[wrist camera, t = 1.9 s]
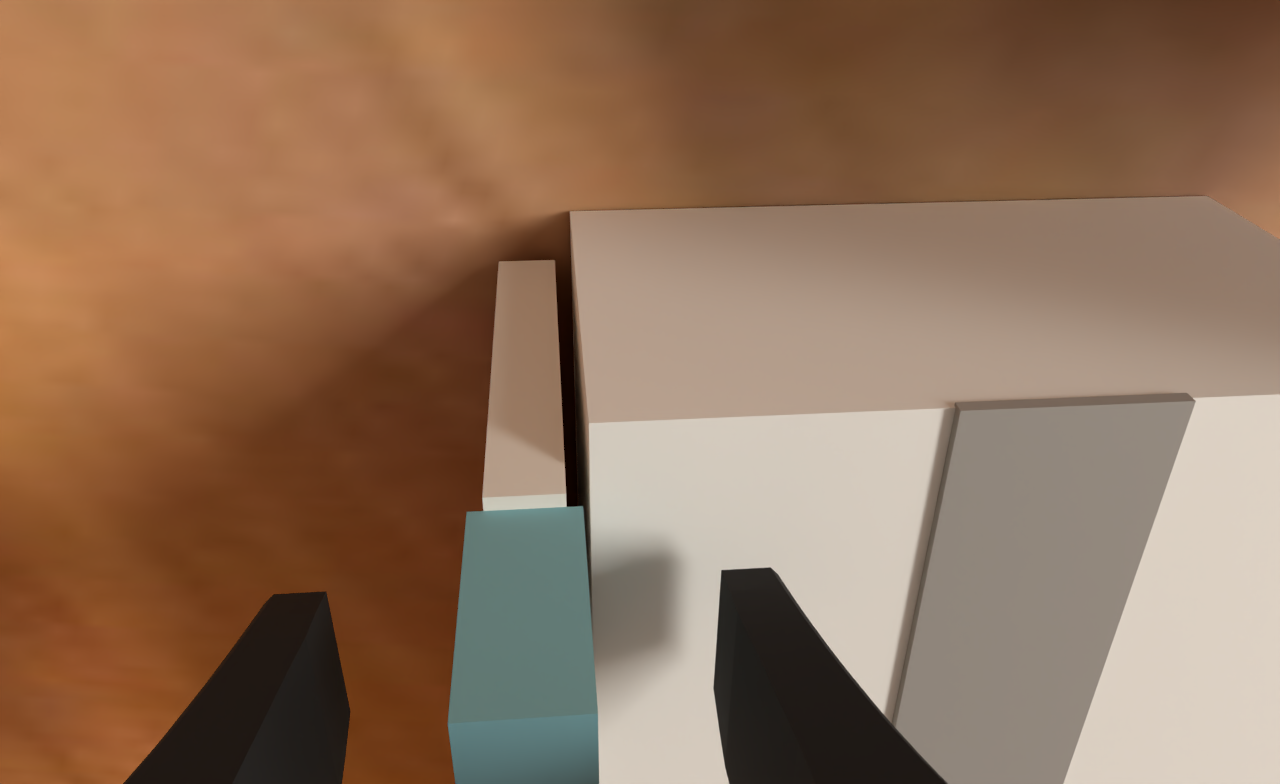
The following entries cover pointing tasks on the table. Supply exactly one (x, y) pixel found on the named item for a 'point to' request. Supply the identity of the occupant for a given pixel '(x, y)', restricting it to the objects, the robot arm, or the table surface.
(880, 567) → the carton
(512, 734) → the green beige flat block
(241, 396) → the table surface
